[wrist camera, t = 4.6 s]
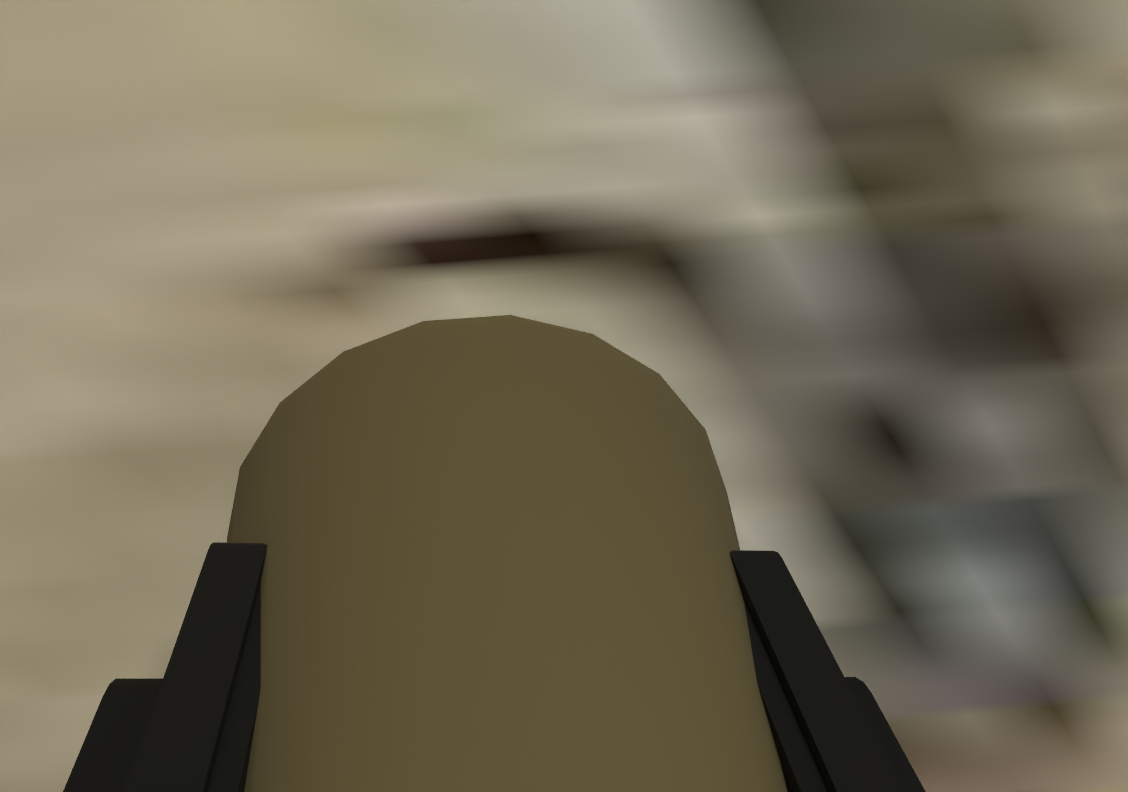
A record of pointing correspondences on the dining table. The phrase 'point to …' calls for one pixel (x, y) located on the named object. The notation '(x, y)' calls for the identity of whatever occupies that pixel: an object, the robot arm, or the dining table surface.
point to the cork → (497, 576)
